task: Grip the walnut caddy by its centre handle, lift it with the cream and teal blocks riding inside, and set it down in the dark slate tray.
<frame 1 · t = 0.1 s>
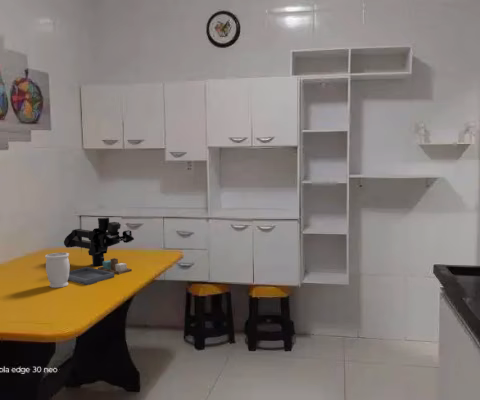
hand: (126, 240, 257), 17 cm above the table, tool horizontal, fingers open, 9 cm apart
caddy: (114, 272, 261), on the table, touching cream block
teal block: (108, 268, 265), resting on caddy
cream block: (121, 271, 258), resting on caddy
tray: (87, 278, 248), on the table
jar: (59, 286, 235), on the table
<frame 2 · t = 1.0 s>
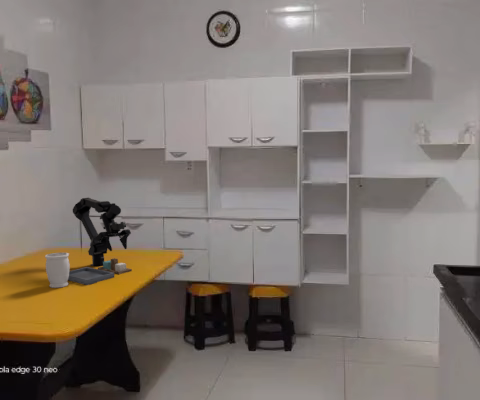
hand: (118, 249, 258), 11 cm above the table, tool tilted 30°, fingers open, 9 cm apart
caddy: (114, 272, 262), on the table, touching teal block
teal block: (108, 268, 265), resting on caddy
cream block: (120, 271, 258), resting on caddy
everything else where it was.
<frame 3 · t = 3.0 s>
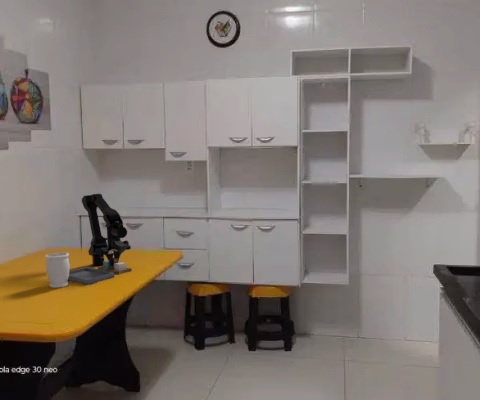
hand: (114, 265, 261), 3 cm above the table, tool pointing down, fingers closed on caddy, 2 cm apart
caddy: (114, 271, 261), on the table, touching cream block, gripper, teal block
cream block: (120, 270, 259), point 1 cm above the table, touching caddy
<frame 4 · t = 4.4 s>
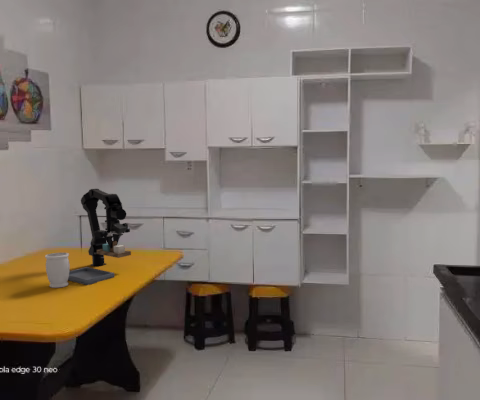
hand: (113, 247, 260), 12 cm above the table, tool pointing down, fingers closed on caddy, 2 cm apart
caddy: (113, 254, 260), point 9 cm above the table, touching cream block, gripper, teal block
teal block: (108, 251, 263), point 10 cm above the table, touching caddy
cream block: (119, 253, 258), point 10 cm above the table, touching caddy
everything else where it was.
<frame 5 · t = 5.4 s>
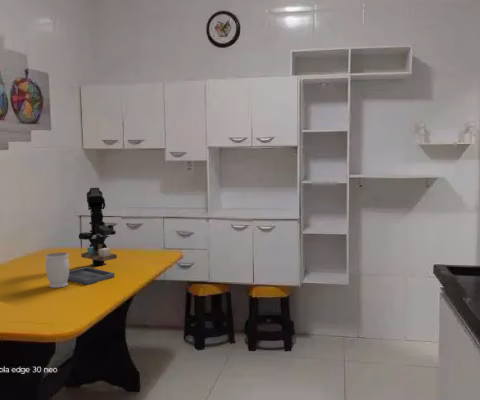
hand: (98, 250, 252), 13 cm above the table, tool pointing down, fingers closed on caddy, 2 cm apart
caddy: (99, 257, 253), point 9 cm above the table, touching cream block, gripper, teal block
teal block: (93, 254, 255), point 10 cm above the table, touching caddy
cream block: (104, 256, 250), point 10 cm above the table, touching caddy
everything else where it was.
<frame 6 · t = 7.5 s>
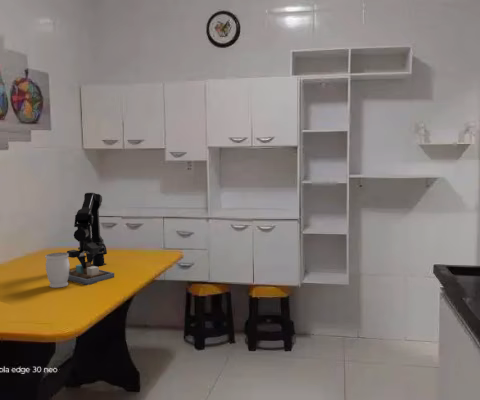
hand: (86, 268, 247), 5 cm above the table, tool pointing down, fingers closed on caddy, 2 cm apart
caddy: (87, 276, 248), point 1 cm above the table, touching cream block, gripper, teal block, tray
teal block: (82, 272, 250), point 2 cm above the table, touching caddy
cream block: (93, 275, 245), point 2 cm above the table, touching caddy
everything else where it was.
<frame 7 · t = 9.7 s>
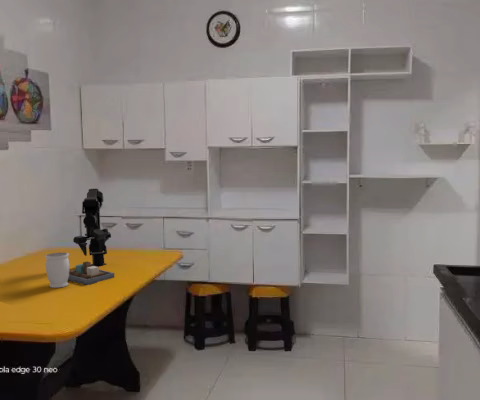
hand: (93, 253, 252), 11 cm above the table, tool pointing down, fingers open, 9 cm apart
caddy: (87, 276, 248), point 1 cm above the table, touching cream block, teal block, tray
everything else where it was.
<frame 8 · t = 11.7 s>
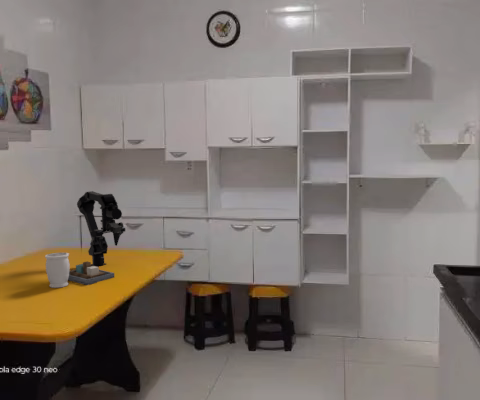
hand: (109, 247, 264), 12 cm above the table, tool pointing down, fingers open, 9 cm apart
nothing on the table moved.
at the end: caddy inside the target area on the tray (0.1 cm from its centre), point 1.0 cm above the tray's base; cream block inside the target area on the tray (4.5 cm from its centre), point 2.0 cm above the tray's base; teal block inside the target area on the tray (4.4 cm from its centre), point 2.0 cm above the tray's base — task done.
